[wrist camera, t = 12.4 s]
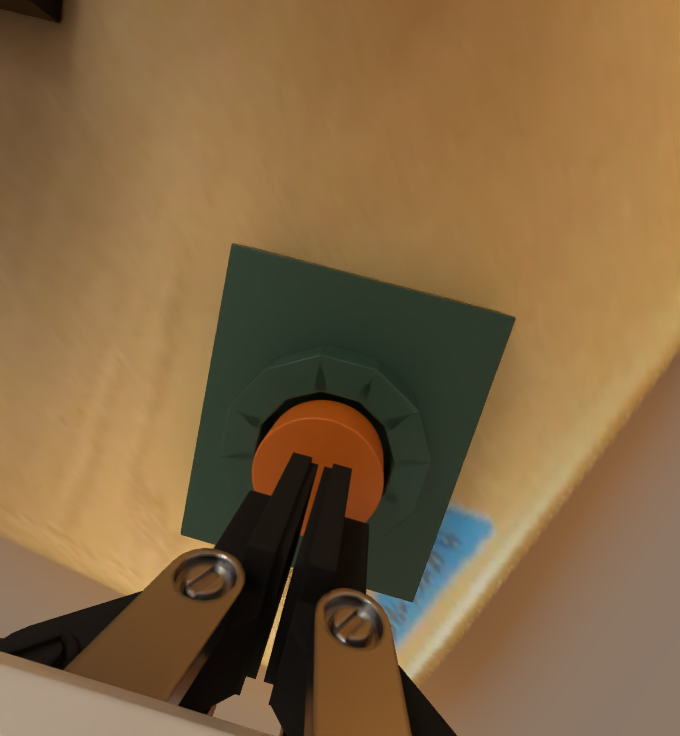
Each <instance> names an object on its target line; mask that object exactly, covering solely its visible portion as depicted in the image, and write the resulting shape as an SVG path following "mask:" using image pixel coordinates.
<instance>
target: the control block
mask: <svg viewBox="0 0 680 736" xmlns="http://www.w3.org/2000/svg"><path fill="white" fill-rule="evenodd" d="M514 322H515V317H513V316H510V315H507V314H504V313H501V312H498V311H494V310H490V309H486V308H483V307H479V306H475V305H471V304H467V303H463V302H460V301H456V300H452V299H448V298H444V297H441V296H437V295H433V294H429V293H425V292H421V291H418V290H414V289H410V288H406V287H402V286H399V285H395V284H391V283H387V282H383V281H379V280H376V279H372V278H368V277H364V276H360V275H356V274H353V273H349V272H345V271H341V270H337V269H334V268H330V267H326V266H322V265H318V264H314V263H311V262H307V261H303V260H299V259H295V258H292V257H288V256H284V255H280V254H276V253H272V252H269V251H265V250H261V249H257V248H253V247H249V246H244V245H239V244H232V245H231V251H230V257H229V262H228V268H227V273H226V279H225V285H224V290H223V296H222V302H221V307H220V313H219V319H218V324H217V330H216V336H215V341H214V347H213V353H212V358H211V364H210V370H209V375H208V381H207V387H206V392H205V398H204V404H203V409H202V415H201V421H200V426H199V432H198V438H197V443H196V449H195V454H194V460H193V466H192V471H191V477H190V483H189V488H188V494H187V500H186V505H185V511H184V517H183V522H182V528H181V535H184V536H187V537H191V538H194V539H197V540H201V541H204V542H208V543H211V544H214V545H216V544H217V542H218V541H219V539H220V537H221V536H222V534H223V533H224V531H225V529H226V528H227V526H228V525H229V523H230V521H231V520H232V518H233V516H234V515H235V513H236V512H237V510H238V508H239V507H240V505H241V504H242V502H243V500H244V499H245V497H246V495H247V494H248V492H249V491H250V490H253V491H254V487H253V482H252V465H253V460H254V456H255V453H256V451H257V449H258V447H259V445H260V444H261V442H262V441H263V439H264V438H265V436H266V435H267V434H268V432H269V431H270V429H271V428H272V427H273V425H274V424H275V422H276V421H277V420H278V419H279V418H280V416H281V415H283V414H284V413H285V412H286V411H287V410H289V409H290V408H292V407H294V406H296V405H298V404H300V403H304V402H307V401H312V400H331V401H336V402H340V403H343V404H346V405H348V406H350V407H352V408H354V409H355V410H357V411H358V412H360V413H361V414H362V415H363V416H365V417H366V418H367V419H368V420H369V422H370V423H371V424H372V425H373V427H374V428H375V430H376V431H377V433H378V435H379V438H380V441H381V443H382V448H383V459H384V485H383V492H382V497H381V500H380V502H379V505H378V506H377V508H376V510H375V512H374V513H373V514H372V516H371V517H370V518H369V519H368V520H367V521H366V522H365V523H368V524H369V545H368V565H367V584H366V589H368V590H372V591H375V592H379V593H382V594H385V595H389V596H392V597H396V598H399V599H402V600H406V601H409V602H413V600H414V597H415V595H416V592H417V589H418V586H419V584H420V581H421V578H422V575H423V573H424V570H425V567H426V564H427V562H428V559H429V556H430V553H431V551H432V548H433V545H434V542H435V540H436V537H437V534H438V531H439V529H440V526H441V523H442V520H443V518H444V515H445V512H446V509H447V506H448V504H449V501H450V498H451V495H452V493H453V490H454V487H455V484H456V482H457V479H458V476H459V473H460V471H461V468H462V465H463V462H464V460H465V457H466V454H467V451H468V449H469V446H470V443H471V440H472V438H473V435H474V432H475V429H476V427H477V424H478V421H479V418H480V416H481V413H482V410H483V407H484V405H485V402H486V399H487V396H488V393H489V391H490V388H491V385H492V382H493V380H494V377H495V374H496V371H497V369H498V366H499V363H500V360H501V358H502V355H503V352H504V349H505V347H506V344H507V341H508V338H509V336H510V333H511V330H512V327H513V325H514ZM302 538H303V536H301V535H300V537H299V541H298V544H297V548H296V552H295V555H294V559H293V562H292V565H291V567H293V568H294V566H295V562H296V559H297V555H298V552H299V548H300V545H301V542H302Z"/></svg>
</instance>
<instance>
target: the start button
mask: <svg viewBox="0 0 680 736" xmlns="http://www.w3.org/2000/svg"><path fill="white" fill-rule="evenodd" d="M293 452H295V453H299V454H303V455H306V456H310V457H312V462H311V463H315V464H318V469H317V472H316V476H315V480H314V484H313V488H312V491H311V495H310V499H309V503H308V506H307V510H306V514H305V518H304V522H303V525H302V529H301V533H300V535H301V536H303V535H304V532H305V529H306V525H307V522H308V519H309V515H310V512H311V509H312V506H313V502H314V499H315V496H316V492H317V489H318V486H319V483H320V479H321V476H322V473H323V469H324V466H326V467H329V468H332V466H333V463H334V464H338V465H341V466H345V467H349V468H352V474H351V480H350V487H349V493H348V500H347V506H346V512H345V517H347V518H351V519H354V520H357V521H361V522H364V523H365V522H366V521H367V520H368V519H369V518H370V517H371V516H372V514H373V513H374V512H375V510H376V508H377V506H378V505H379V502H380V500H381V497H382V492H383V485H384V459H383V448H382V443H381V441H380V438H379V435H378V433H377V431H376V430H375V428H374V427H373V425H372V424H371V423H370V422H369V420H368V419H367V418H366V417H365V416H363V415H362V414H361V413H360V412H358V411H357V410H355V409H354V408H352V407H350V406H348V405H346V404H343V403H340V402H336V401H331V400H312V401H307V402H304V403H300V404H298V405H296V406H294V407H292V408H290V409H289V410H287V411H286V412H285V413H284V414H283V415H281V416H280V418H279V419H278V420H277V421H276V422H275V424H274V425H273V427H272V428H271V429H270V431H269V432H268V434H267V435H266V436H265V438H264V439H263V441H262V442H261V444H260V445H259V447H258V449H257V451H256V453H255V456H254V460H253V465H252V482H253V487H254V491H257V492H260V493H264V494H267V495H272V493H273V491H274V489H275V487H276V485H277V483H278V481H279V479H280V477H281V476H282V474H283V472H284V470H285V468H286V466H287V464H288V462H289V460H290V458H291V456H292V454H293Z"/></svg>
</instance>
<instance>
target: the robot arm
mask: <svg viewBox="0 0 680 736" xmlns="http://www.w3.org/2000/svg"><path fill="white" fill-rule="evenodd" d="M311 462H312V457H310V456H306V455H303V454H299V453H295V452H293V454H292V456H291V458H290V460H289V462H288V464H287V466H286V468H285V470H284V472H283V474H282V476H281V477H280V479H279V481H278V483H277V485H276V487H275V489H274V491H273V493H272V495H267V494H264V493H260V492H257V491H253V490H250V491H249V492H248V494H247V495H246V497H245V499H244V500H243V502H242V504H241V505H240V507H239V508H238V510H237V512H236V513H235V515H234V516H233V518H232V520H231V521H230V523H229V525H228V526H227V528H226V529H225V531H224V533H223V534H222V536H221V537H220V539H219V541H218V542H217V544H216V546H215V547H214V549H211V548H202V549H195V550H191V551H189V552H186V553H184V554H182V555H180V556H179V557H178V558H176V559H175V560H174V561H172V562H171V563H170V564H169V565H168V566H167V567H166V568H165V569H164V570H163V571H162V572H161V573H160V574H159V575H158V576H157V577H156V578H155V579H154V580H153V581H152V582H151V583H150V584H149V585H148V586H147V587H146V588H145V589H144V590H143V591H141V592H137V593H134V594H131V595H128V596H125V597H121V598H118V599H115V600H112V601H109V602H106V603H102V604H99V605H96V606H92V607H89V608H86V609H83V610H79V611H76V612H73V613H70V614H67V615H63V616H60V617H57V618H54V619H50V620H47V621H44V622H41V623H37V624H34V625H31V626H28V627H26V628H23V629H21V630H19V631H16V632H14V633H12V634H10V635H9V636H7V637H5V638H0V736H273V735H269V734H266V733H263V732H260V731H257V730H253V729H250V728H247V727H244V726H241V725H238V724H234V723H231V722H228V721H225V720H221V719H218V718H215V717H212V716H213V713H214V711H215V708H216V704H217V703H219V702H221V701H223V700H225V699H227V698H228V697H231V696H232V695H234V694H236V695H240V693H241V690H242V687H243V684H244V681H245V678H246V676H247V677H250V678H253V679H256V676H257V673H258V670H259V667H260V664H261V661H262V657H263V654H264V651H265V648H266V645H267V642H268V638H269V635H270V632H271V629H272V626H273V622H274V619H275V616H276V613H277V610H278V606H279V603H280V600H281V597H282V594H283V591H284V587H285V584H286V581H287V578H288V575H289V571H290V568H291V565H292V562H293V559H294V555H295V552H296V548H297V544H298V541H299V537H300V533H301V529H302V525H303V522H304V518H305V514H306V510H307V506H308V503H309V499H310V495H311V491H312V488H313V484H314V480H315V476H316V472H317V469H318V464H315V463H311ZM351 474H352V468H349V467H345V466H341V465H338V464H334V463H333V466H332V468H329V467H326V466H324V469H323V473H322V476H321V479H320V483H319V486H318V489H317V492H316V496H315V499H314V502H313V506H312V509H311V512H310V515H309V519H308V522H307V525H306V529H305V532H304V535H303V538H302V542H301V545H300V548H299V552H298V555H297V559H296V562H295V566H294V569H293V573H292V577H291V581H290V584H289V588H288V592H287V596H286V599H285V603H284V607H283V611H282V614H281V618H280V622H279V626H278V630H277V633H276V637H275V641H274V645H273V648H272V652H271V656H270V660H269V663H268V667H267V671H266V675H265V679H264V682H266V683H270V684H273V685H274V686H273V690H272V694H271V698H270V701H269V705H271V707H272V709H273V711H274V713H275V715H276V716H277V718H278V720H279V722H280V724H281V730H280V735H279V736H457V735H456V734H455V733H454V731H453V730H452V729H451V728H450V727H449V725H448V724H447V723H446V722H445V720H444V719H443V718H442V717H441V716H440V714H439V713H438V712H437V711H436V710H435V708H434V707H433V706H432V705H431V703H430V702H429V701H428V700H427V699H426V697H425V696H424V695H423V694H422V693H421V691H420V690H419V689H418V688H417V686H416V685H415V684H414V683H413V682H412V680H411V679H410V678H409V677H408V676H407V674H406V673H405V672H404V671H403V669H402V668H401V667H400V666H399V665H398V660H397V655H396V650H395V644H394V639H393V634H392V629H391V624H390V622H389V619H388V616H387V614H386V613H385V611H384V610H383V608H382V607H381V605H379V604H378V603H377V602H376V601H375V600H374V599H373V598H372V597H370V596H368V595H366V584H367V565H368V545H369V524H368V523H364V522H361V521H357V520H354V519H351V518H347V517H345V512H346V506H347V500H348V493H349V487H350V480H351Z"/></svg>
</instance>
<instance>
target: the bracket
mask: <svg viewBox="0 0 680 736" xmlns="http://www.w3.org/2000/svg"><path fill="white" fill-rule="evenodd" d="M0 9H4V10H9V11H13V12H17V13H21V14H25V15H29V16H33V17H37V18H41V19H45V20H50V21H54V22H58V23H60V22H61V11H62V0H0Z"/></svg>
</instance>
